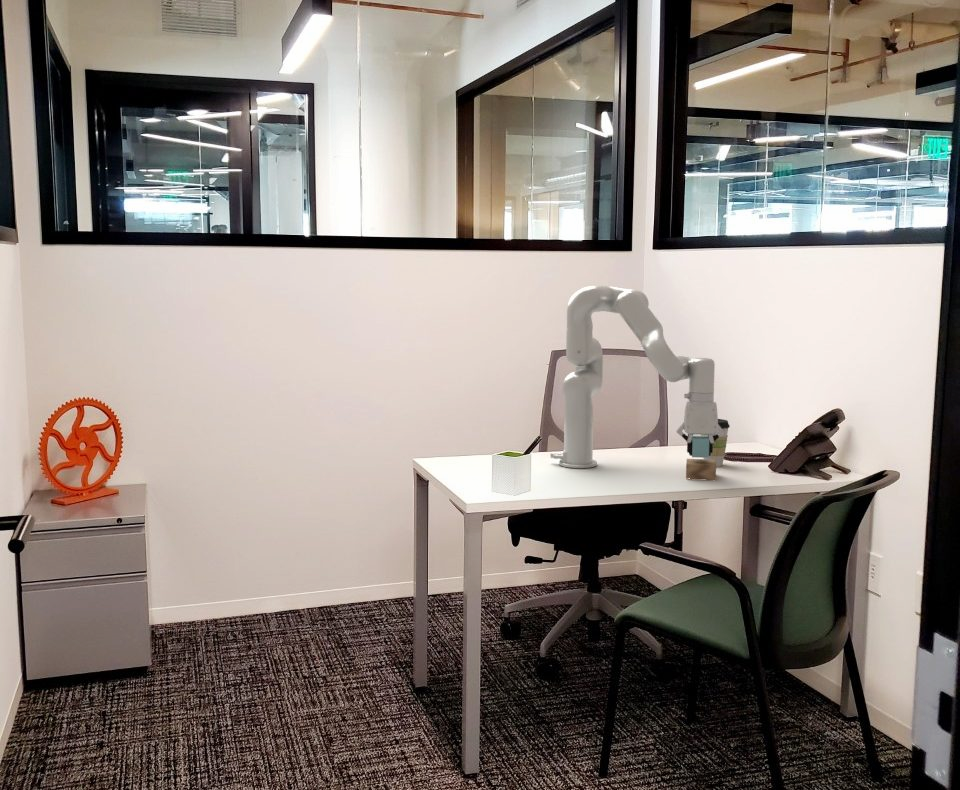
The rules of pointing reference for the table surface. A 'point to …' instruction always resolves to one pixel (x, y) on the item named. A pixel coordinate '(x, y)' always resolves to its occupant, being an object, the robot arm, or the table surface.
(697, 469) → the walnut box
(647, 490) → the table surface
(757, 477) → the table surface
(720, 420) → the coffee cup
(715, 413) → the robot arm
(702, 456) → the teal block
